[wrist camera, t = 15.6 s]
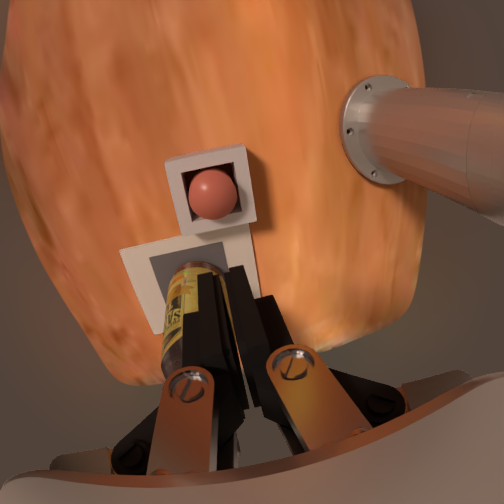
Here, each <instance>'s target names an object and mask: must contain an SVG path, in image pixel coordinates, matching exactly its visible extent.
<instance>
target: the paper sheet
mask: <svg viewBox="0 0 504 504" xmlns="http://www.w3.org/2000/svg"><path fill="white" fill-rule="evenodd" d="M119 252H120V254H121V257H122V260H123V262H124V265H125V268H126V270H127V273H128V275H129V278H130V280H131V283H132V285H133V288H134V290H135V293H136V295H137V297H138V300H139V302H140V304H141V306H142V309H143V311H144V313H145V315H146V318H147V320H148V322H149V324H150V326H151V329H152V331H153V333H154V335H155V334H161V333H163V330H164V322H165V311H166V302H167V295H168V287H169V283H170V281H171V278H172V276H173V274H174V273H175V271H176V270H177V269H178V268H179V267H180V266H181V265H183V264H185V263H187V262H191V261H202V262H203V261H204V262H207V263H210V264H212V265H213V266H215V267H216V268H217V269H218V270H219V272H220V273H221V275H222V276H223V279H224V273H226V272H229V268H230V267H235V266H240V265H244V269H245V272H246V275H247V278H248V281H249V284H250V287H251V290H252V294H253V297H254V299H256V298H261V295H260V289H259V283H258V277H257V271H256V264H255V258H254V252H253V246H252V240H251V234H250V228H249V223H246V224H241V225H236V226H231V227H226V228H222V229H217V230H212V231H207V232H203V233H198V234H194V235H189V236H185V237H182V235H180V236H176V237H172V238H167V239H163V240H158V241H154V242H150V243H145V244H141V245H137V246H133V247H129V248H124V249H120V250H119ZM224 282H225V279H224Z"/></svg>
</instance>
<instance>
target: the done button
mask: <svg viewBox="0 0 504 504" xmlns="http://www.w3.org/2000/svg"><path fill="white" fill-rule="evenodd" d="M236 201H237V191H236V188H235V185H234V184H233V182H232V180H231V178H230V176H229V175H228V174H227V173H226V172H225V171H223V170H222V169H219V168H215V167H209V168H204V169H202V170H200V171H199V172H197V173H196V174H195V175H194V177H193V178H192V180H191V183H190V189H189V203H190V206H191V208H192V210H193V211H194V212H195V213H196V214H197V215H198V216H200V217H202V218H204V219H208V220H216V219H220V218H223V217H225V216H226V215H228V214H229V213H230V212H231V211H232V210H233V208H234V206H235V204H236Z"/></svg>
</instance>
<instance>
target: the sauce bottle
mask: <svg viewBox="0 0 504 504" xmlns="http://www.w3.org/2000/svg"><path fill="white" fill-rule="evenodd" d="M207 272H213V275H217V274H219V277H220V281H221V285H222V289H223V293H224V297H225V301H226V305H227V309H228V313H229V317H230V320H231V324H232V328H233V322H232V316H231V311H230V305H229V300H228V295H227V290H226V284H225V282H224V279H223V276H222V275H221V273H220V272H219V270H218V269H217V268H216V267H215V266H213V265H212V264H210V263H207V262H204V261H203V262H202V261H191V262H187V263H185V264H183V265H181V266H180V267H179V268H178V269H177V270H176V271H175V273H174V274H173V276H172V278H171V281H170V283H169V287H168V295H167V302H166V311H165V322H164V330H163V344H162V358H161V368H162V372H163V374H164V376H165V379H167V378H168V377H169V376H170V375H171V374H172V373H173V372H175V371H176V370H178V369H181V368H182V330H183V314H186V313H191V312H196V311H198V287H197V275H198V274H203V273H207ZM233 332H234V328H233ZM234 337H235V333H234ZM235 342H236V339H235ZM236 347H237V344H236ZM239 456H240V447H239V442H238V438H237V459H238V458H239Z"/></svg>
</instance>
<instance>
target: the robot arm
mask: <svg viewBox="0 0 504 504" xmlns="http://www.w3.org/2000/svg"><path fill="white" fill-rule="evenodd" d="M365 87H366V89H365ZM339 126H340V137H341V142H342V146H343V148H344V151H345V153H346V156H347V157H348V159H349V161H350V162H351V164H352V165H353V166H354V168H355V169H356V170H357V171H358V172H359V173H361V174H362V175H363V176H364V177H366V178H368V179H370V180H372V181H374V182H377V183H380V184H387V185H391V184H398V183H400V182H403V181H405V180H409V181H411V182H413V183H416V184H418V185H420V186H423V187H425V188H427V189H429V190H432V191H434V192H436V193H438V194H440V195H443V196H445V197H447V198H449V199H451V200H453V201H455V202H457V203H459V204H461V205H463V206H465V207H467V208H469V209H471V210H473V211H475V212H477V213H479V214H481V215H483V216H485V217H486V218H488V219H490V220H492V221H494V222H496V223H498V224H500V225H503V226H504V93H496V92H486V91H477V90H465V89H448V88H412V87H411V86H410V85H409V84H407V83H406V82H404V81H403V80H401V79H398V78H396V77H393V76H388V75H378V76H372V77H369V78H366V79H364V80H362V81H360V82H359V83H358V84H356V85H355V86H354V87H353V88H352V90H351V91H350V92H349V93H348V95H347V97H346V99H345V101H344V103H343V106H342V109H341V114H340V122H339ZM347 130H348V133H347ZM224 279H225V284H226V290H227V295H228V300H229V305H230V311H231V316H232V321H233V326H234V331H235V336H236V341H237V345H238V350H239V354H240V358H241V361H242V365H243V368H244V372H245V376H246V379H247V383H248V386H249V390H250V393H251V397H252V400H253V403H254V407H259V406H261V407H262V411H263V415H264V417H265V418H267V419H269V420H272V421H274V422H276V423H277V426H278V428H279V430H280V432H281V434H282V436H283V438H284V440H285V442H286V444H287V446H288V448H289V450H290V452H291V453H292V455H293V456H291V457H287V458H283V459H279V460H274V461H270V462H265V463H261V464H256V465H251V466H246V467H239V468H238V467H237V466H238V465H237V431H236V430H237V429H238V428H239V426H240V425H241V424H242V423H243V422H244V420H243V419H245V414H244V410H245V409H249V404H248V399H247V395H246V390H245V385H244V380H243V376H242V371H241V366H240V361H239V356H238V351H237V347H236V342H235V337H234V332H233V328H232V324H231V320H230V317H229V313H228V309H227V305H226V301H225V297H224V293H223V289H222V285H221V281H220V277H219V274H217V275H213V272H207V273H203V274H198V275H197V287H198V311H196V312H191V313H186V314H183V330H182V368H181V369H178V370H176V371H175V372H173V373H172V374H171V375H170V376H169V377H168V378H167V379H166V380H165V383H164V385H163V389H162V394H161V399H160V403H159V406H158V407H157V408H156V409H155V410H154V411H153V412H152V413H151V414H150V415H148V416H147V417H146V418H145V419H144V420H143V421H142V422H141V423H140V424H139V425H138V426H136V427H135V428H134V429H133V430H132V431H131V432H130V433H129V434H128V435H126V436H125V437H124V438H123V439H122V440H121V441H120V442H119V443H118V444H117V445H116V446H115V447H114V448H113V449H109V448H108V447H104V448H99V449H93V450H88V451H82V452H76V453H70V454H62V455H59V456H57V457H55V458H54V459H53V460H52V462H51V464H50V467H49V469H44V470H43V469H42V470H33V471H27V472H23V473H20V474H17V475H15V476H13V477H11V478H9V479H8V480H7V481H6V482H5V483H4V485H3V486H2V489H1V491H0V504H504V372H498V373H493V374H488V375H484V376H481V377H477V378H475V379H472V377H471V376H470V375H469V374H468V373H466V372H465V371H461V370H451V371H448V372H445V373H441V374H438V375H434V376H431V377H427V378H423V379H420V380H415V381H411V382H407V383H403V384H402V385H401V387H398V388H394V387H391V386H389V385H385V384H382V383H378V382H374V381H371V380H367V379H364V378H360V377H357V376H353V375H350V374H347V373H343V372H340V371H337V370H334V369H330V368H328V367H327V366H326V365H325V363H324V362H323V360H322V359H321V358H320V356H319V355H318V354H317V353H316V352H315V351H314V350H313V349H311V348H309V347H307V346H304V345H299V344H294V343H293V341H292V339H291V336H290V334H289V332H288V329H287V327H286V324H285V322H284V320H283V317H282V315H281V313H280V310H279V308H278V305H277V303H276V301H275V298H274V296H273V295H269V296H265V297H261V298H256V299H254V297H253V294H252V290H251V287H250V284H249V281H248V278H247V275H246V272H245V269H244V265H240V266H235V267H230V268H229V272H226V273H224Z"/></svg>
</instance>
